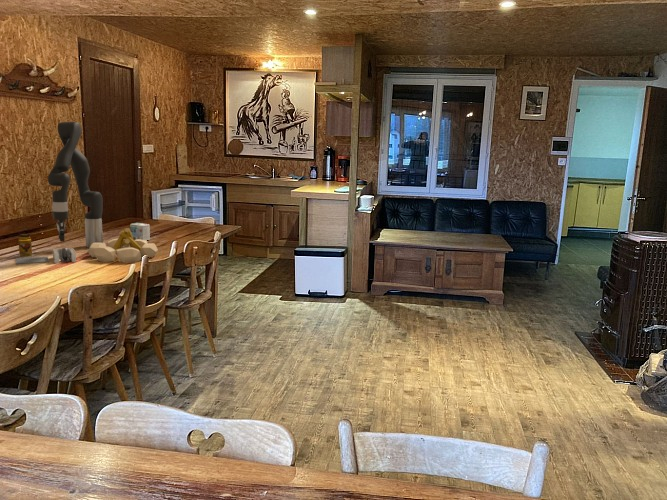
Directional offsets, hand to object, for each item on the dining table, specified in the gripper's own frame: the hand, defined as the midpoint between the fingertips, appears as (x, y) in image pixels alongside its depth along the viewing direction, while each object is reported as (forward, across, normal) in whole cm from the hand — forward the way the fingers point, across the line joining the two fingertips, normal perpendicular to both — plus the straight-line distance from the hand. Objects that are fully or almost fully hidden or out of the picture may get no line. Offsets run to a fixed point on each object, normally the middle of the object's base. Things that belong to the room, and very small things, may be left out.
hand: (61, 239), depth 294 cm
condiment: (+10, +11, +18) cm, 23 cm away
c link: (+10, -6, -1) cm, 12 cm away
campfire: (+10, -7, -30) cm, 33 cm away
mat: (+10, -3, +14) cm, 18 cm away
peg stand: (+10, -10, -1) cm, 14 cm away
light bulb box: (+9, +38, -48) cm, 62 cm away
